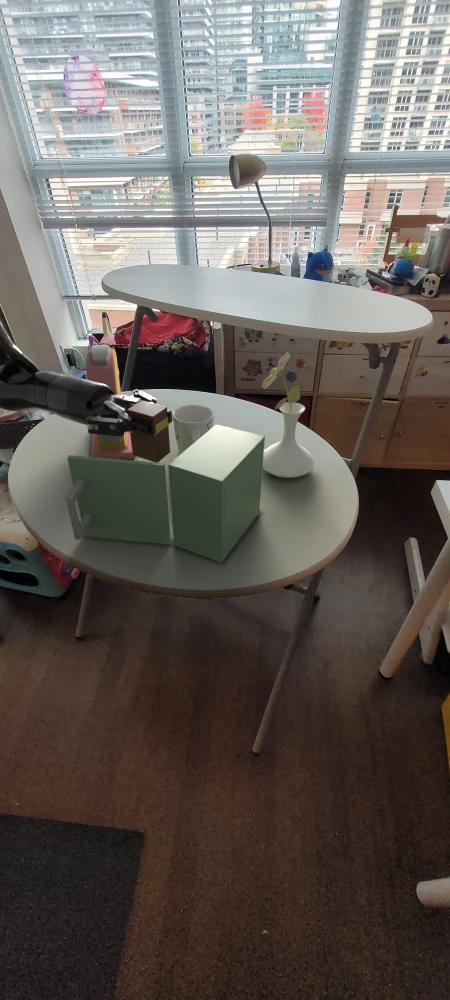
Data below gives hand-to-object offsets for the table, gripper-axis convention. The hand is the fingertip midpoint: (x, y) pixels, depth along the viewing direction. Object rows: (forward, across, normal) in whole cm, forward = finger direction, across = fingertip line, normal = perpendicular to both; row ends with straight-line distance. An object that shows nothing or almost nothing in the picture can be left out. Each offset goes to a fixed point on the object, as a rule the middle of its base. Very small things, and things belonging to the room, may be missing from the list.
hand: (162, 423), depth 73 cm
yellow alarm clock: (-25, +15, +18) cm, 34 cm away
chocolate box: (-3, 0, +6) cm, 7 cm away
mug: (-5, +18, +18) cm, 26 cm away
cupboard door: (-1, -12, +18) cm, 22 cm away
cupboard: (+10, 0, +18) cm, 21 cm away
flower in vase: (+13, +23, +18) cm, 32 cm away
